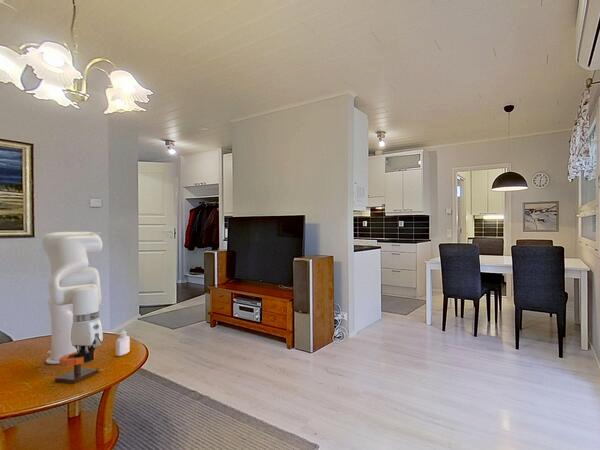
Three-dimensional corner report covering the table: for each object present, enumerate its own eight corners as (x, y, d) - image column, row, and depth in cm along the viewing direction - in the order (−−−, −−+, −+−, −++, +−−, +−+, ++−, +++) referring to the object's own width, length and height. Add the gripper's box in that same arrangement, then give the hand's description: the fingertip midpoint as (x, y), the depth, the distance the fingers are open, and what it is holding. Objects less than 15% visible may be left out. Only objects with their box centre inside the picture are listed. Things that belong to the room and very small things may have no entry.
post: (54, 381, 123) (54, 357, 123) (80, 371, 132) (80, 348, 132) (73, 383, 122) (74, 358, 122) (98, 372, 131) (98, 349, 131)
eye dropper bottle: (131, 352, 151) (132, 328, 151) (116, 357, 146) (117, 332, 146) (128, 350, 153) (128, 327, 153) (113, 355, 148) (113, 330, 148)
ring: (52, 365, 123) (52, 359, 123) (81, 354, 133) (81, 349, 133) (74, 367, 122) (74, 361, 122) (101, 356, 132) (101, 350, 132)
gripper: (112, 315, 129) (112, 358, 129) (80, 313, 131) (80, 356, 131) (92, 320, 122) (92, 366, 122) (58, 319, 124) (58, 364, 124)
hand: (86, 360), depth 127 cm, fingers closed on ring, 2 cm apart
